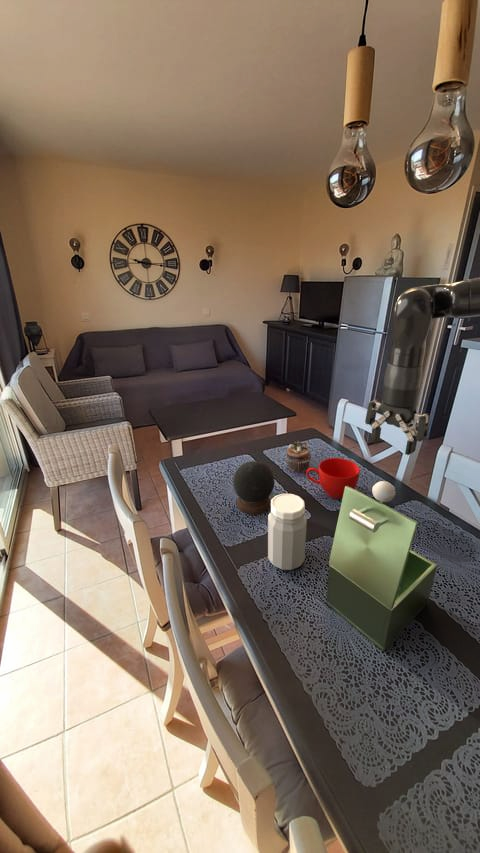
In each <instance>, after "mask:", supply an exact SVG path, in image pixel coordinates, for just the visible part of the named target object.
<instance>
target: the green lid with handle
mask: <svg viewBox="0 0 480 853" xmlns="http://www.w3.org/2000/svg"><path fill="white" fill-rule="evenodd" d="M418 525H419V521H417V520H416V519H413V518H412V517H409V516H407V515H405V514H404V513H402V512H400V511H398V510H395V509H394V508H392V507H390V506H388V505H386V504H385V503H383V504H382V503H381V502H380V501H378V500H377V499H374V498H372V497H370V496H368V495H367V494H364V493H363V492H360V491H359V490H357V489H356V488H355V489H353V488H351V487H349V486H345V490H344V494H343V498H341V504H340V508H339V514H338V518H337V523H336V528H335V531H334V537H333V541H332V546H331V551H330V556H329V560H328V565H329V566H330V565H331V566H332V567H334V568H335V569H336V570H338V571H339V572H340V573H342V574H343V575H344V576H346V577H347V578H349V579H350V580H351V581H353V582H354V583H355V584H357V585H358V586H359V587H361V588H362V589H363V590H365V591H366V592H368V593H369V594H370V595H372V596H373V597H374V598H376V599H377V600H378V601H380V602H381V603H383V604H384V605H385V606H387V607H388V608H389V609H392V608H393V607H394V603H395V600H396V596H397V593H398V590H399V586H400V583H401V579H402V576H403V573H404V569H405V566H406V563H407V559H408V556H409V552H410V549H411V548H412V545H413V542H414V539H415V535H416V532H417V529H418ZM411 550H412V549H411Z"/></svg>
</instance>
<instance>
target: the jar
mask: <svg viewBox="0 0 480 853" xmlns="http://www.w3.org/2000/svg"><path fill="white" fill-rule="evenodd" d="M270 500H271V507H270V512H269V514H268V516H267V517H268V518H267V559H268V561H270V563H271V564H272V565H273V566H274V567H275V568H278V569H280V570H281V571H292V570H295V569H298V568H300V567H301V566H302V564H303V563H304V561H305V559H306V542H307V524H308V522H307V521H308V520H307V515H306V513H305V512H306V511H305V508H306V506H305V505H306V504H305V500H304V499H303V498H301V496H300V495H296V494H293V493H280V494H277V495H275V496H274V497H273V498H272V499H270Z"/></svg>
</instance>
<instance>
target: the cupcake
mask: <svg viewBox="0 0 480 853" xmlns="http://www.w3.org/2000/svg"><path fill="white" fill-rule="evenodd" d="M285 459H286V465H287V468H288V469H289V471H292V472H294V473H303V472H307V470H308V469H309V468H310V463H311V460H312V455H311V453H310V449H309V444H307V443H306V442H300V441H299V440H295V441H294V442H292V443H291V444H289V445H288V448H286V452H285Z"/></svg>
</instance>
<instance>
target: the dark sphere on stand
mask: <svg viewBox="0 0 480 853" xmlns="http://www.w3.org/2000/svg"><path fill="white" fill-rule="evenodd" d="M232 486H233V490H234V492H235V494H236V495H237V499H236V508H237V509H238V510H239V511H240V512H242V513H244V514H247V515H260V514H263V513H266V512H268V511H269V510H270V509H271V500H272V499H271V498H270V496H271V495H272V493H273V490H274V487H275V477H274V474H273V472H272V470H271V469H270V467H269V466H268V465H267V464H265V463H263V462H261V461H256V460H250V461H247V462H244V463H242V464H240V465H239V467H238V468H237V469H236V470H235V472H234V475H233V478H232Z"/></svg>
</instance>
